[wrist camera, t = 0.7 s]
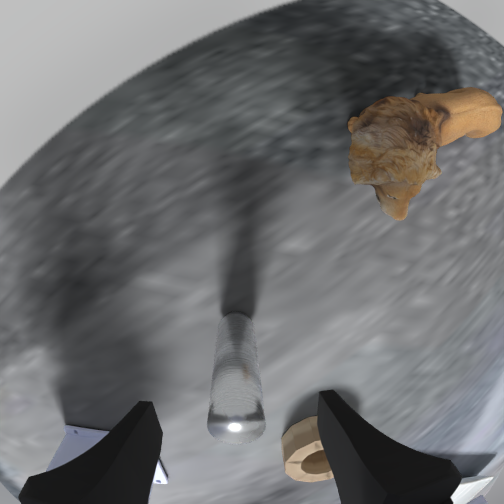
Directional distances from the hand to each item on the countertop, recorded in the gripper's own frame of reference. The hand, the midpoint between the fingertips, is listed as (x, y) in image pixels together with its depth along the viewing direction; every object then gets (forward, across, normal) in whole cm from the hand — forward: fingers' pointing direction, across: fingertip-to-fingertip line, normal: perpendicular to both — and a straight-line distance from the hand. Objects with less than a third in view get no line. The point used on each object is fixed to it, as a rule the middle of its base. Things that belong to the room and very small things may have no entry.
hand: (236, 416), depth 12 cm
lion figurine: (+10, -12, -12) cm, 20 cm away
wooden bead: (+9, -6, +13) cm, 17 cm away
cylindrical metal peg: (+9, 0, 0) cm, 9 cm away
